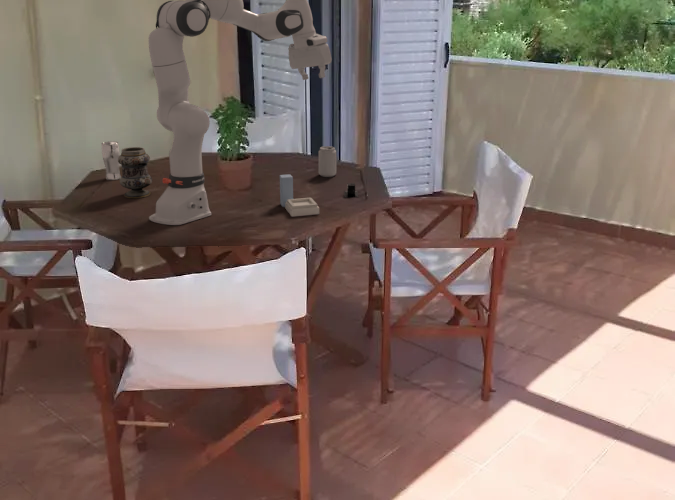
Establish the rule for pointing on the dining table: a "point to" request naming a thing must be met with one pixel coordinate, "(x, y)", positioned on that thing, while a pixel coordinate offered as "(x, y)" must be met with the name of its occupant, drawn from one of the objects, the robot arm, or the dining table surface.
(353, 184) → the black box
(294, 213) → the footing
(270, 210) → the dining table surface
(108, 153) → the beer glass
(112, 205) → the dining table surface
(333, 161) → the can
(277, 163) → the dining table surface
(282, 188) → the pillar
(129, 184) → the apothecary jar
